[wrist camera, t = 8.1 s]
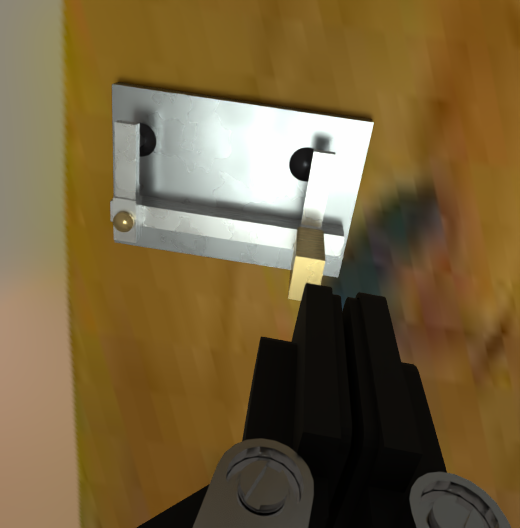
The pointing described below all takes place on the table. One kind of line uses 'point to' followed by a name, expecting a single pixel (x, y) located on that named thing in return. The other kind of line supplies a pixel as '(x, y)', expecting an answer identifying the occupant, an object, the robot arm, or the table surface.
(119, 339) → the table surface
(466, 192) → the table surface
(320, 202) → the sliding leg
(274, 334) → the table surface
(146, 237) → the bolt plate
